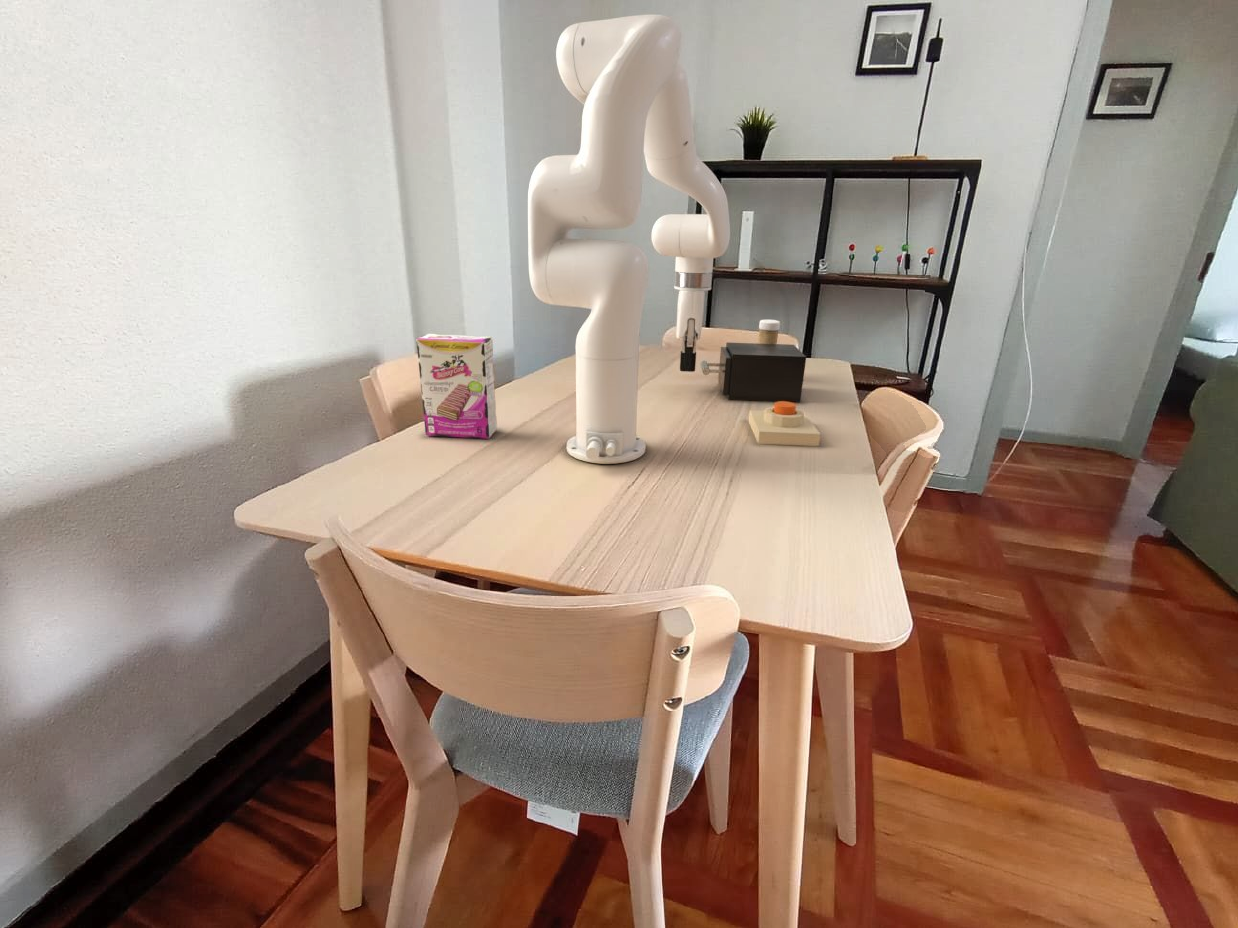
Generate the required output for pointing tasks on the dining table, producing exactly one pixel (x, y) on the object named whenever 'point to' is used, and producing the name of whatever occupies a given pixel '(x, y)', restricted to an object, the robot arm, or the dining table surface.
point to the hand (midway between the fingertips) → (687, 370)
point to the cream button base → (783, 428)
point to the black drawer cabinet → (766, 372)
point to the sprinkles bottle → (768, 331)
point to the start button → (784, 408)
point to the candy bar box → (457, 385)
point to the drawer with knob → (720, 370)
